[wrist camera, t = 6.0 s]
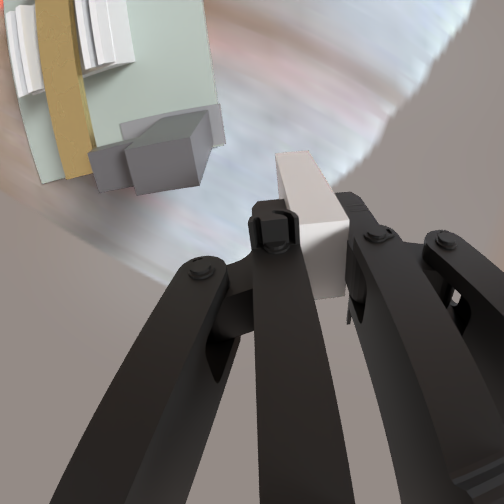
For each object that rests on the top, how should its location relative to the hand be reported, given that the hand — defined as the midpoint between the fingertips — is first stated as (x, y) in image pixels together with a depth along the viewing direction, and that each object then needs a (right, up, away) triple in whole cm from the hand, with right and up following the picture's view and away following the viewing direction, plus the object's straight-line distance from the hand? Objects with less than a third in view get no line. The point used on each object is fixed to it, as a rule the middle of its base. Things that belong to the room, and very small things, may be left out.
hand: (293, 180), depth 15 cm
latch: (-9, +7, +11) cm, 16 cm away
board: (-15, +14, +8) cm, 22 cm away
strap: (-16, +11, +3) cm, 19 cm away
